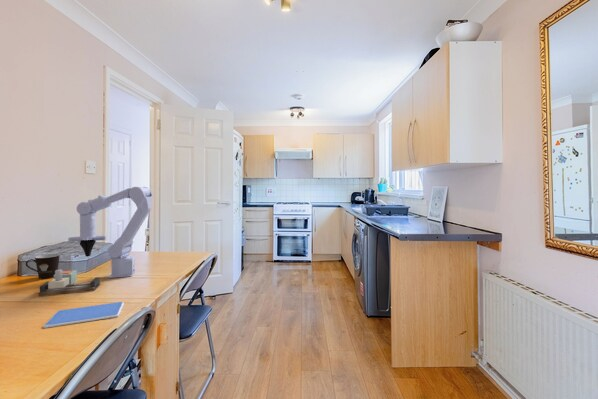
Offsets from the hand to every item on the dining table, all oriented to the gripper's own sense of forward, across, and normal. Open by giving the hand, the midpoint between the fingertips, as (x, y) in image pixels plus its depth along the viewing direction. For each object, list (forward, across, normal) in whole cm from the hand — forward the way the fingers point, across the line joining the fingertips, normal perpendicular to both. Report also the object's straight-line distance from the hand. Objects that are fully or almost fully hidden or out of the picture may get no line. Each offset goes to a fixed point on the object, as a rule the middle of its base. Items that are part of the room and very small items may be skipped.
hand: (88, 256), depth 133 cm
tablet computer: (+10, +14, -49) cm, 52 cm away
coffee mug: (+10, -18, +4) cm, 21 cm away
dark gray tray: (+9, 0, -20) cm, 22 cm away
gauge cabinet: (+9, -5, -11) cm, 15 cm away
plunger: (+8, -5, -11) cm, 15 cm away
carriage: (+7, -4, -20) cm, 22 cm away
